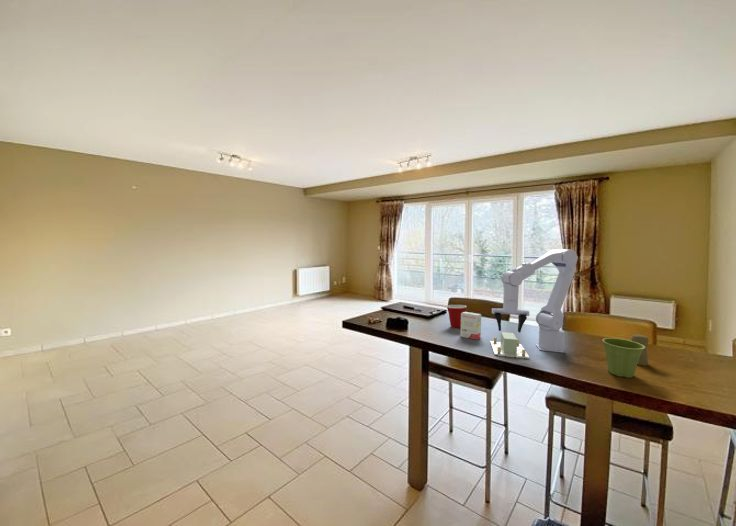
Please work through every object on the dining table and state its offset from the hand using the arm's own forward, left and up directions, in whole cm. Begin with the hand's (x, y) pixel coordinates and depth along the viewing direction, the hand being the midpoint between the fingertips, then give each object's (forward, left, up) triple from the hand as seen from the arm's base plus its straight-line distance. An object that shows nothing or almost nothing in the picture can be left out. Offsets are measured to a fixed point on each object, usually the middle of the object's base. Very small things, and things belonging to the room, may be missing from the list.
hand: (509, 331), depth 135 cm
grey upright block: (-47, -1, -9) cm, 48 cm away
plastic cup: (+22, -32, -9) cm, 40 cm away
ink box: (+15, -15, -9) cm, 23 cm away
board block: (0, 0, -8) cm, 8 cm away
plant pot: (-35, +14, -9) cm, 39 cm away
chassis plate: (0, 0, -8) cm, 8 cm away
